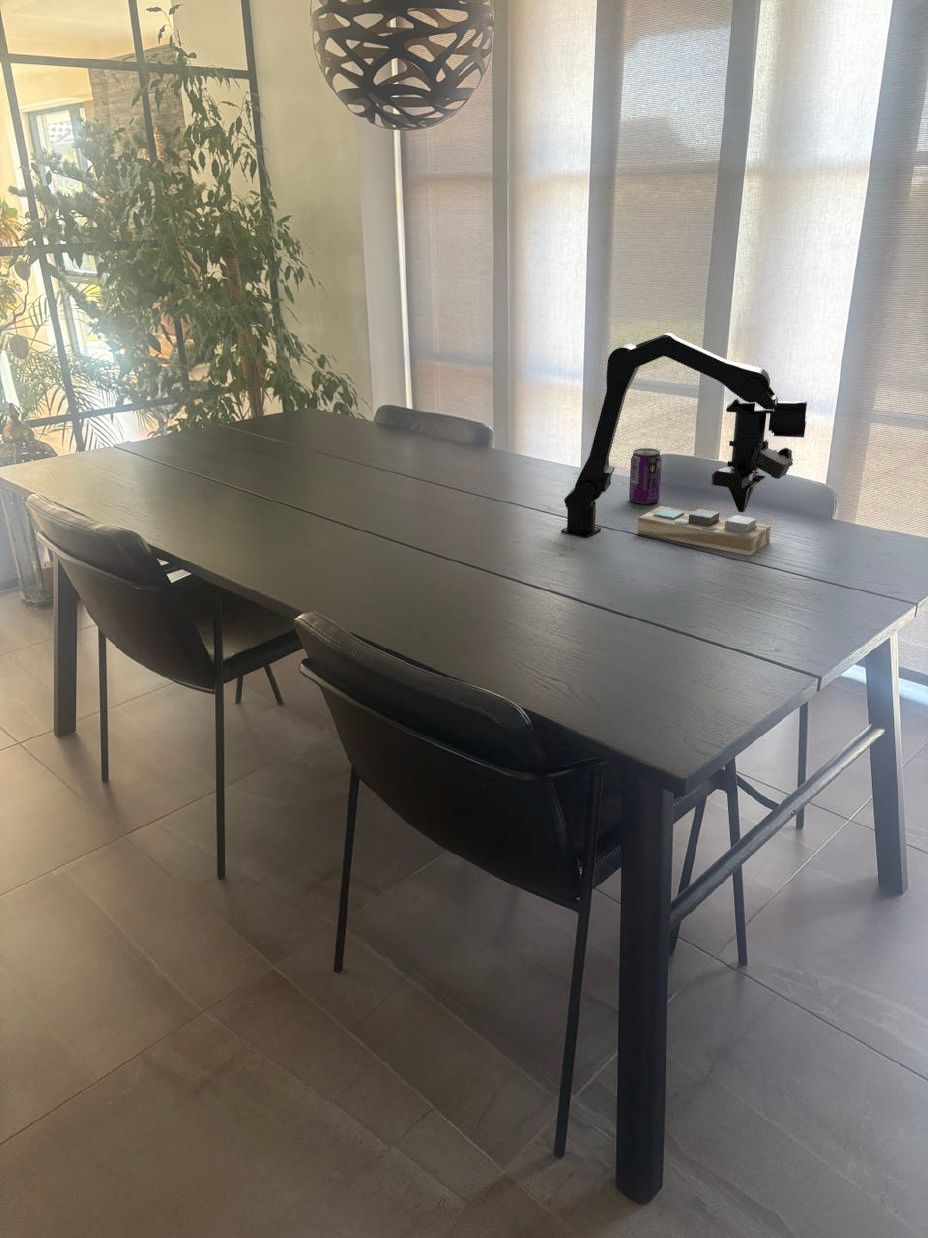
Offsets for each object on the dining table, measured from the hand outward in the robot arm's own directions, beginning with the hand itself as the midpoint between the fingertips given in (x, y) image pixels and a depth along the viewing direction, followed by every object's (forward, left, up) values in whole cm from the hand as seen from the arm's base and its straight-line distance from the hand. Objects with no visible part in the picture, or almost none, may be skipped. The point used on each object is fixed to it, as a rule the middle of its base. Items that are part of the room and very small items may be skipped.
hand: (741, 511), depth 188 cm
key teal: (0, +16, -6) cm, 17 cm away
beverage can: (+17, +31, -7) cm, 36 cm away
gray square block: (0, +8, -5) cm, 9 cm away
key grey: (0, 0, -5) cm, 5 cm away
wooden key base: (0, +8, -7) cm, 11 cm away
